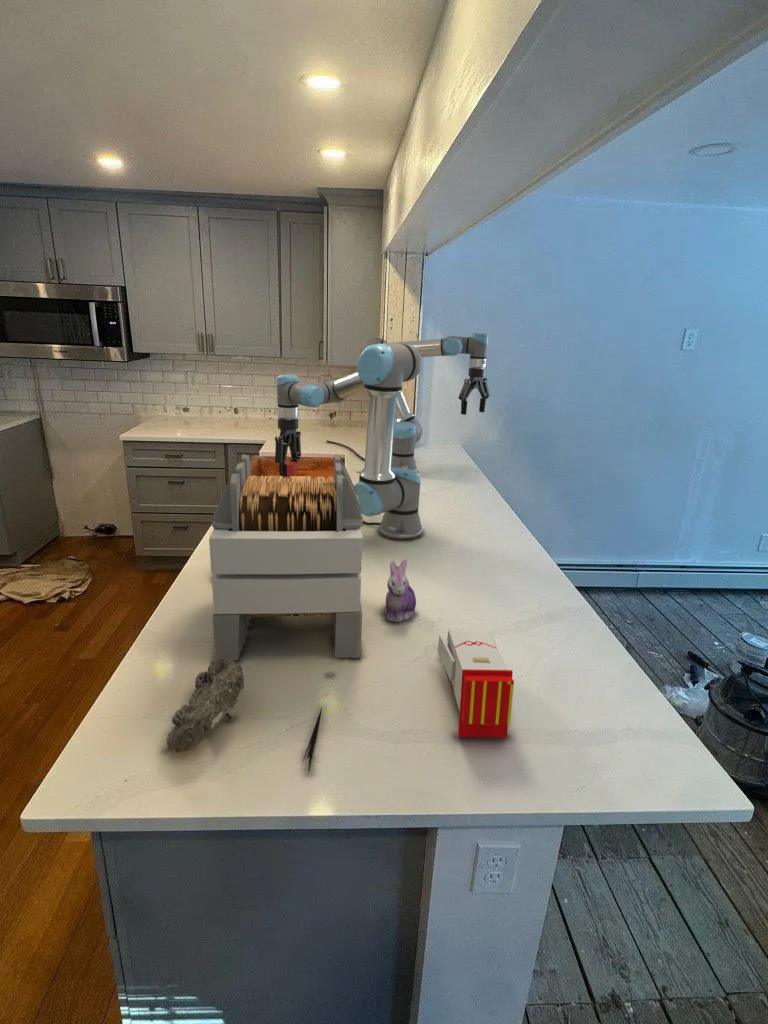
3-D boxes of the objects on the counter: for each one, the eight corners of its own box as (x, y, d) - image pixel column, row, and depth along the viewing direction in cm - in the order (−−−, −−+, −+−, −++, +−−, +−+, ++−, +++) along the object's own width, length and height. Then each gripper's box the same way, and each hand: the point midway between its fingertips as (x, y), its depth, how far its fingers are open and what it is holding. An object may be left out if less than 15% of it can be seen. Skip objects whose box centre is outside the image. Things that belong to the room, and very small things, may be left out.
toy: (488, 613, 130) (523, 677, 101) (484, 667, 133) (517, 744, 104) (435, 612, 130) (455, 676, 101) (432, 666, 133) (451, 743, 103)
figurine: (392, 627, 141) (395, 572, 136) (374, 608, 149) (376, 556, 144) (425, 619, 145) (429, 566, 140) (405, 601, 154) (408, 550, 149)
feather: (331, 679, 122) (336, 673, 122) (307, 777, 96) (313, 769, 95) (324, 675, 122) (329, 669, 121) (298, 772, 95) (304, 764, 95)
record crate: (234, 590, 156) (226, 444, 142) (353, 588, 159) (357, 447, 146) (212, 662, 124) (200, 485, 110) (361, 659, 128) (367, 486, 114)
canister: (294, 489, 214) (294, 465, 211) (278, 488, 214) (277, 464, 211) (298, 484, 220) (298, 461, 216) (282, 483, 220) (282, 460, 217)
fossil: (192, 660, 117) (244, 628, 112) (224, 691, 120) (276, 661, 115) (142, 746, 98) (202, 712, 93) (182, 779, 101) (242, 748, 96)
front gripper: (294, 413, 218) (294, 470, 226) (263, 420, 201) (265, 482, 209) (310, 415, 215) (310, 473, 223) (281, 423, 198) (282, 486, 206)
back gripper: (465, 369, 254) (461, 416, 261) (499, 367, 270) (495, 412, 277) (453, 367, 259) (449, 414, 266) (487, 366, 275) (482, 409, 282)
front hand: (288, 478), depth 216 cm, fingers closed on canister, 6 cm apart
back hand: (472, 413), depth 272 cm, fingers open, 13 cm apart
